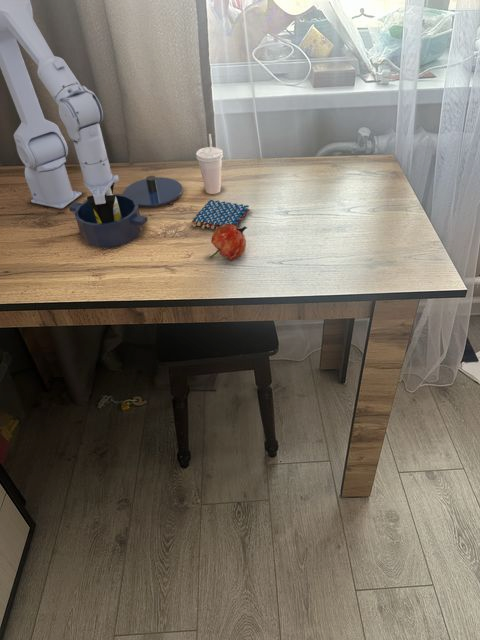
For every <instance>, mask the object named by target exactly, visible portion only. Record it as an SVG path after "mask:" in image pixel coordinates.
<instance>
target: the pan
mask: <svg viewBox="0 0 480 640" xmlns="http://www.w3.org/2000/svg"><path fill="white" fill-rule="evenodd" d="M113 195H115V196H116V198H117V201H118V205H119V209H120V213H121V217H122V219H120V220H118V221H114V222H109V223H97V220H96V217H95V213H94V210H93V208H92V207H91V206H90V205H89V204H88V202H87V199H86V200H84V201H83V202H76V201H75V202H73V203H72V204H70V206H68V209H69V212H73V214H74V216H75V221H76V223H77V226H78V229H79V230H78V231H79V233H80V236H81V239H82V240H83V242H84V243H86V244H87V245H89V246H92V247H96V248H114V247H119V246H123V245H126V244H127V243H130V242H132V241H134V240H135V239H136V238H138V237H139V236H140V235H141V234H142V231H143V226H144V225H145V224H146V223H147V222H148V216H147V215H146V216H145V215H141V212H140V206H138V204H137V202H136V200H135V199H133V198H131V197H129V196H126V195H124V194H120V193H113Z"/></svg>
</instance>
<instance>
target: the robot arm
mask: <svg viewBox="0 0 480 640" xmlns="http://www.w3.org/2000/svg"><path fill="white" fill-rule="evenodd" d="M33 11H34V10H33V7H32V1H31V0H0V71H1V74H2V76H3V78H4V81H5V84H6V86H7V89H8V91H9V94H10V96H11V99H12V101H13V104H14V106H15V109H16V112H17V114H18V116H19V119H20V124H19V126H18V127H17V129H16V130H15V131H14V133H13V140H14V142H15V145H16V146H15V147H16V151H17V155H18V157H19V159H20V160H21V162H22V164H23V165H24V166H25V168H24V178H25V181H26V183H27V186H28V189H29V192H30V195H31V197H32V199H31V200H30V202H31V203H32V204H37V205H41V206H46V207H51V208H56V209H61V210H62V209H64V208H65V207H67V206H68V205H69V204H71V203H72V202H73V201H74V200H76V199H78V198H79V197H80V196H82V192H81V191H77V190H73V188H72V184H71V180H70V178H69V174H68V172H67V168H66V165H65V163H66V162H67V157H68V156H69V146H68V143H67V141H66V139H65V137H64V136H63V134H62V131H61V129H60V127H59V126H58V125H57V124H56V123H55V122H53V121H51V120H48V119H46V118H45V116H44V113H43V111H42V108H41V105H40V102H39V99H38V96H37V94H36V91H35V89H34V85H33V83H32V80H31V77H30V74H29V71H28V68H27V66H26V62H25V60H24V57H23V55H22V52H21V49H20V46H19V44H20V45H21V47H22V48H23V49H24V50H25V52H26V53H27V55H28V56H29V57H30V58H31V59H32V61H34V63H35V64H36V65H37V77H38V78H39V80H40V81H41V83H42V84H43V85H44V87H45V88H46V90H47V92H48V93H49V94H50V96H51V97H52V100H54V101H55V103H56V104H57V106H58V115H59V118H60V120H61V122H62V124H63V125H64V127H65V128H66V133H67V135H68V137H69V138H70V139H71V140H72V142H73V146H74V149H75V153H76V156H77V160H78V164H79V166H80V170H81V174H82V177H83V184H84V186H85V188H86V190H88V191H89V193H90V194H91V195H87V196H86V200H87V202H88V204H89V205H90V206H91V207H92V208H93V209H94V210H95V212H96V213H97V215H98V216H99V218H100V220H101V222H102V223H109V222H114V213H113V206H114V202H115V195H108V196H107V195H106V192H107V191H108V190H109V188H111V192H112V194H114V188H115V184H116V183H118V182H119V181H120V179H119V174H118V175H117V174H113V173H112V169H111V166H110V161H109V157H108V154H107V149H106V146H105V141H104V137H103V134H102V132H103V131H102V129H101V128H102V127H101V125H100V123H102V122H103V120H104V112H103V107H102V103H101V102H100V100H99V99H98V97H97V95H96V93H94V92H93V91H92V90H90V89H88V88H87V86H85V85H81V83H80V81H79V80H78V79H77V77H76V76H75V74H74V72H73V71H72V70H71V69H70V67H69V66H68V64H67V62H66V61H65V60H64V59H63V58H62V57H60V56H56V55H54V53H53V51H52V49H51V48H50V46H49V44H48V43H47V41H46V39H45V37H44V36H43V34H42V32H41V31H40V29H39V27H38V25H37V24H36V22H35V20H34V13H33Z"/></svg>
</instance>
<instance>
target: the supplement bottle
mask: <svg viewBox="0 0 480 640" xmlns="http://www.w3.org/2000/svg"><path fill="white" fill-rule="evenodd" d="M113 194H114V193H113ZM113 194H112V192H111V188H109V190H108V191H107V192H106V195H107V196H108V195H113ZM93 210H94V209H93ZM94 213H95V217H96V220H97V223H102V222H101V220H100V218H99V216H98V215H97V213H96V212H95V210H94ZM113 213H114V221H118V220H120V219H122V217H121V213H120V209H119V205H118V201H117V198H116V196H115V202H114V206H113Z"/></svg>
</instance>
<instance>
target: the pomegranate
mask: <svg viewBox="0 0 480 640" xmlns="http://www.w3.org/2000/svg"><path fill="white" fill-rule="evenodd" d="M246 229H248V226H246V225H244V226H243V227H241V228H240V227H239V228H238V226H237V227H236V226H234V225H231V224H224V225H221V226H220V227H218V228H217V229H216V228H215V231H214V232H213V234H212V236H211V240H210V242H211V244H212V245H213V246H214V247H215V249H217V250H216V251H215V252H214V253H213V254H212V255H210V256H209V258H210V259H212V258H213V257H214V256H215V255H217V254H218V253H219V254H220V255H222V256H223V257H225V258H227V260H229V261H234V260H236V259H239V258H240V257H241V256H242V255H243V254H244V252H245V251H246V248H247V240H246V236H245V234H244V231H245V230H246Z"/></svg>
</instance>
